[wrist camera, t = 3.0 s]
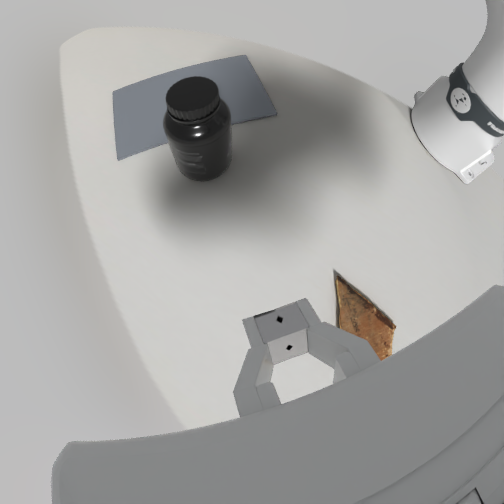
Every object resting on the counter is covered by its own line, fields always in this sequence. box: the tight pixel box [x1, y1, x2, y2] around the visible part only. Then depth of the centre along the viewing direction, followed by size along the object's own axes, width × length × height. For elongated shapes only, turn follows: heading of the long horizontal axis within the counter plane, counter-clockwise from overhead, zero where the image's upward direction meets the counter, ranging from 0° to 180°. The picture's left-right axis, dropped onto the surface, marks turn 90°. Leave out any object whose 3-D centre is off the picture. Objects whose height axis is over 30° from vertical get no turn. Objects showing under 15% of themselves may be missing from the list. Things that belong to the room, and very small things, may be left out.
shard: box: [335, 276, 396, 361], centre depth 29 cm, size 11×8×2 cm
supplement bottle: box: [163, 76, 232, 181], centre depth 27 cm, size 7×7×12 cm
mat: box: [113, 55, 277, 161], centre depth 34 cm, size 22×14×1 cm, turn 108°
